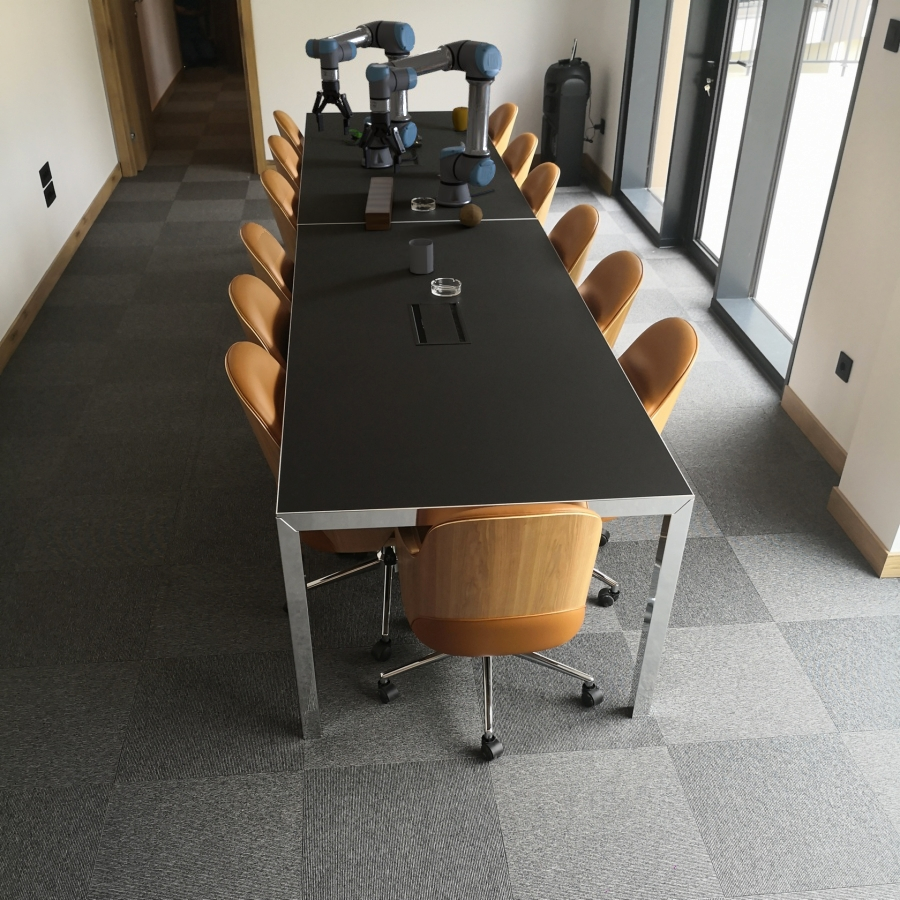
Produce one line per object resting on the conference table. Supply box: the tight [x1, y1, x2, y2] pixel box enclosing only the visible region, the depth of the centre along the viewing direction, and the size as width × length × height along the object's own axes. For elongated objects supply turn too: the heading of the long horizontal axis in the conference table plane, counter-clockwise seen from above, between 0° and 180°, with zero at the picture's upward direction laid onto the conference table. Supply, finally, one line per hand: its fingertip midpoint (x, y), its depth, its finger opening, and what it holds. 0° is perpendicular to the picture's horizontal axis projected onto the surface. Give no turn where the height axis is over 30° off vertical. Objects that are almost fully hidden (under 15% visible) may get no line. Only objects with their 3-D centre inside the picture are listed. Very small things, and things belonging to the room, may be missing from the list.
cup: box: [408, 237, 434, 275], centre depth 305 cm, size 8×8×10 cm
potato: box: [458, 203, 484, 228], centre depth 347 cm, size 10×14×8 cm
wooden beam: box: [364, 176, 394, 231], centre depth 365 cm, size 51×10×7 cm, turn 2°
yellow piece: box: [451, 105, 468, 132], centre depth 487 cm, size 11×11×13 cm
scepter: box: [341, 128, 363, 146], centre depth 466 cm, size 6×13×30 cm
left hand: (333, 133), depth 373 cm, fingers open, 13 cm apart
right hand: (382, 170), depth 329 cm, fingers open, 13 cm apart
